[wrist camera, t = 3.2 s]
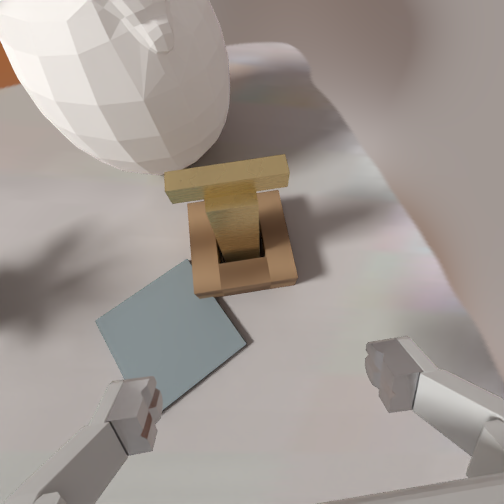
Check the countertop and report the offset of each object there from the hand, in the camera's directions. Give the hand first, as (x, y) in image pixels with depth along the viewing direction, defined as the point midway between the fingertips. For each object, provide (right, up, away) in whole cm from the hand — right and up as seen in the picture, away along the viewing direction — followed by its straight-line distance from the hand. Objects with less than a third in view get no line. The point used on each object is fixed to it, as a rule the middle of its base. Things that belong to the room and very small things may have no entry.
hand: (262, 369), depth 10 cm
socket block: (-2, +5, +19) cm, 20 cm away
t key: (-2, +5, +19) cm, 20 cm away
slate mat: (-9, -4, +16) cm, 19 cm away
